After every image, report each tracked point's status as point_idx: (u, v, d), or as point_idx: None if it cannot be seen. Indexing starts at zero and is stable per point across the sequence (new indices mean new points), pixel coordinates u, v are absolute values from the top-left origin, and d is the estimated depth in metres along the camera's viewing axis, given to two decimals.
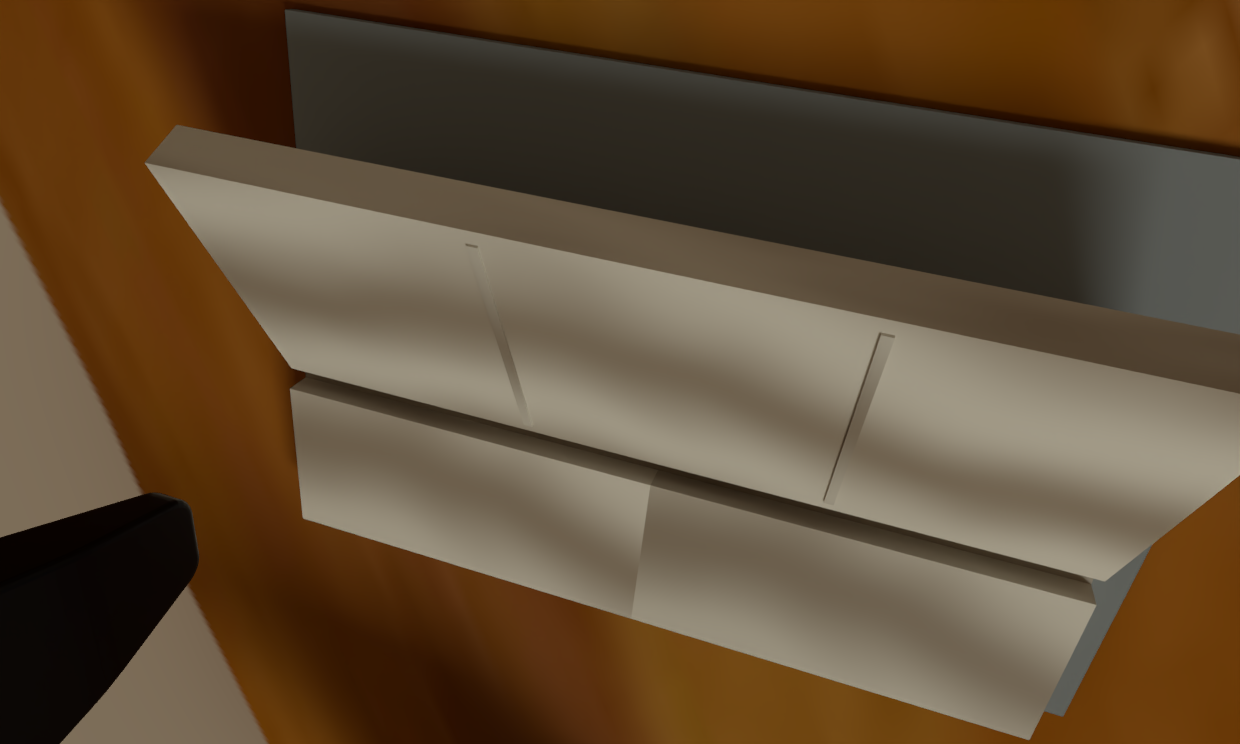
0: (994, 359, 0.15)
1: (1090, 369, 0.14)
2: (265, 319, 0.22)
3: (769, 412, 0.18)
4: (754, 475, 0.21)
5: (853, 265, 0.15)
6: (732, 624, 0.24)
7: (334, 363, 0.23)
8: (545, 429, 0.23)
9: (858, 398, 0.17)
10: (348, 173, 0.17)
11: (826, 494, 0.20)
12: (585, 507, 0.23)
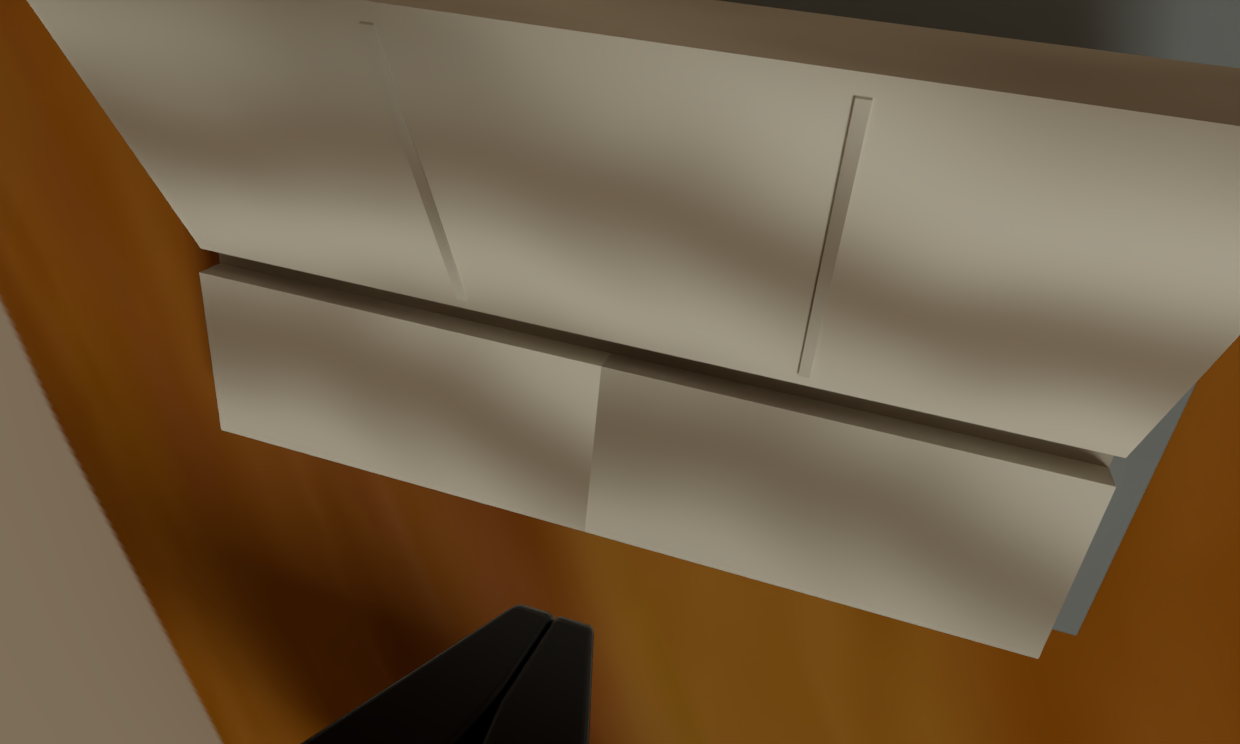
0: (994, 121, 0.12)
1: (1115, 120, 0.11)
2: (161, 178, 0.20)
3: (729, 245, 0.15)
4: (718, 344, 0.18)
5: (821, 21, 0.12)
6: (697, 533, 0.21)
7: (243, 235, 0.21)
8: (481, 303, 0.20)
9: (832, 206, 0.14)
10: None
11: (801, 362, 0.18)
12: (529, 398, 0.21)
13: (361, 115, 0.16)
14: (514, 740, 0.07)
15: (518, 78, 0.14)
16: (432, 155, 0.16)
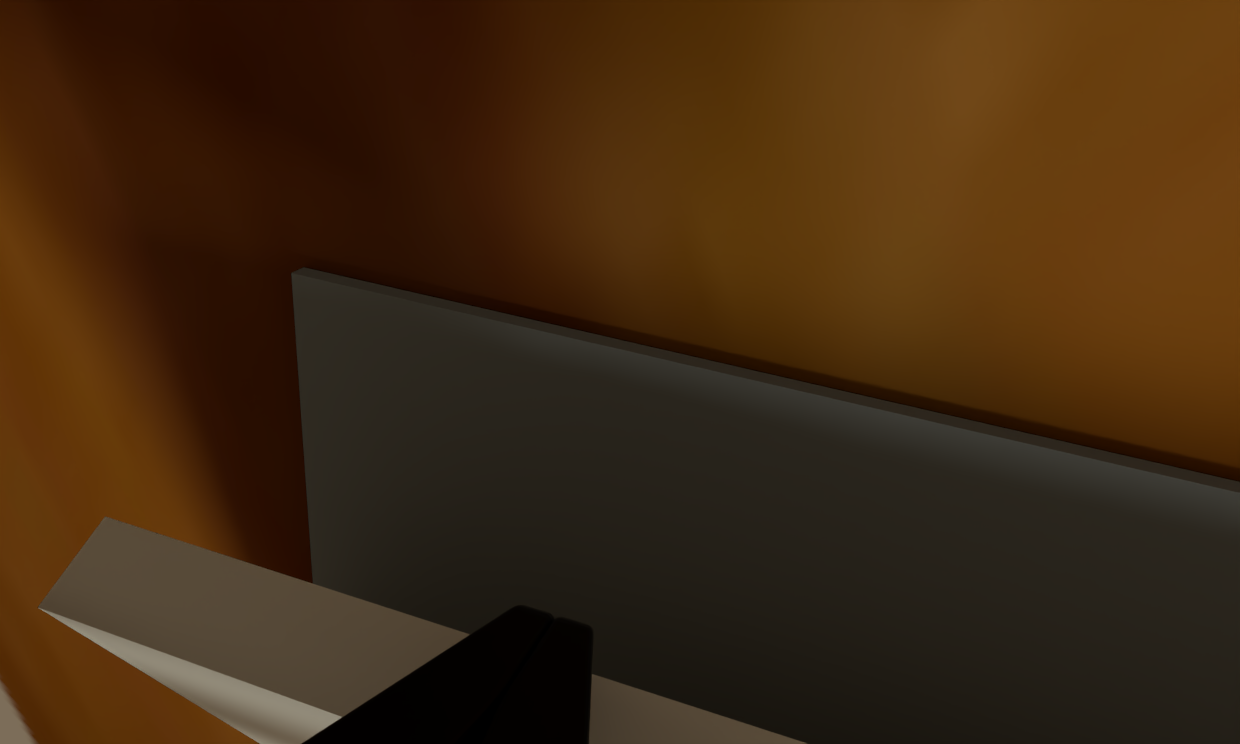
0: None
1: None
2: (252, 735, 0.14)
3: None
4: None
5: None
6: None
7: None
8: None
9: None
10: (417, 655, 0.09)
11: None
12: None
13: None
14: (514, 740, 0.07)
15: None
16: None
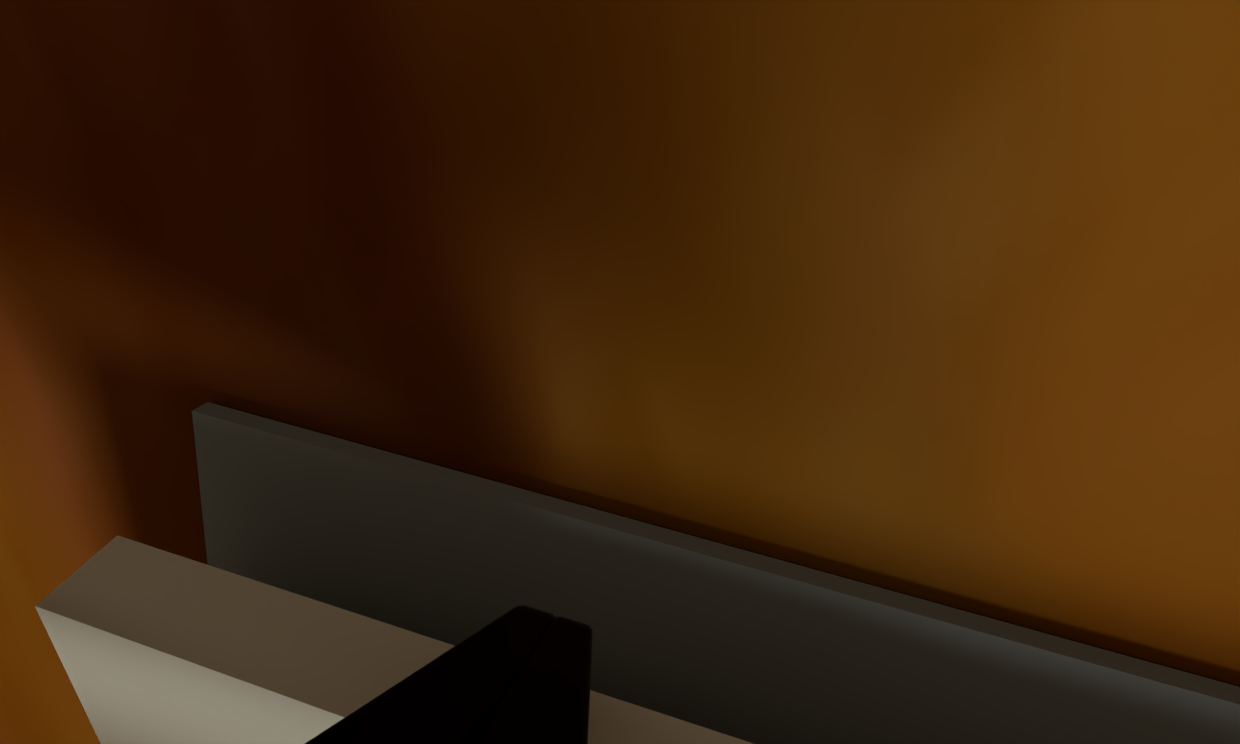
0: None
1: None
2: None
3: None
4: None
5: None
6: None
7: None
8: None
9: None
10: None
11: None
12: None
13: None
14: (513, 740, 0.07)
15: None
16: None
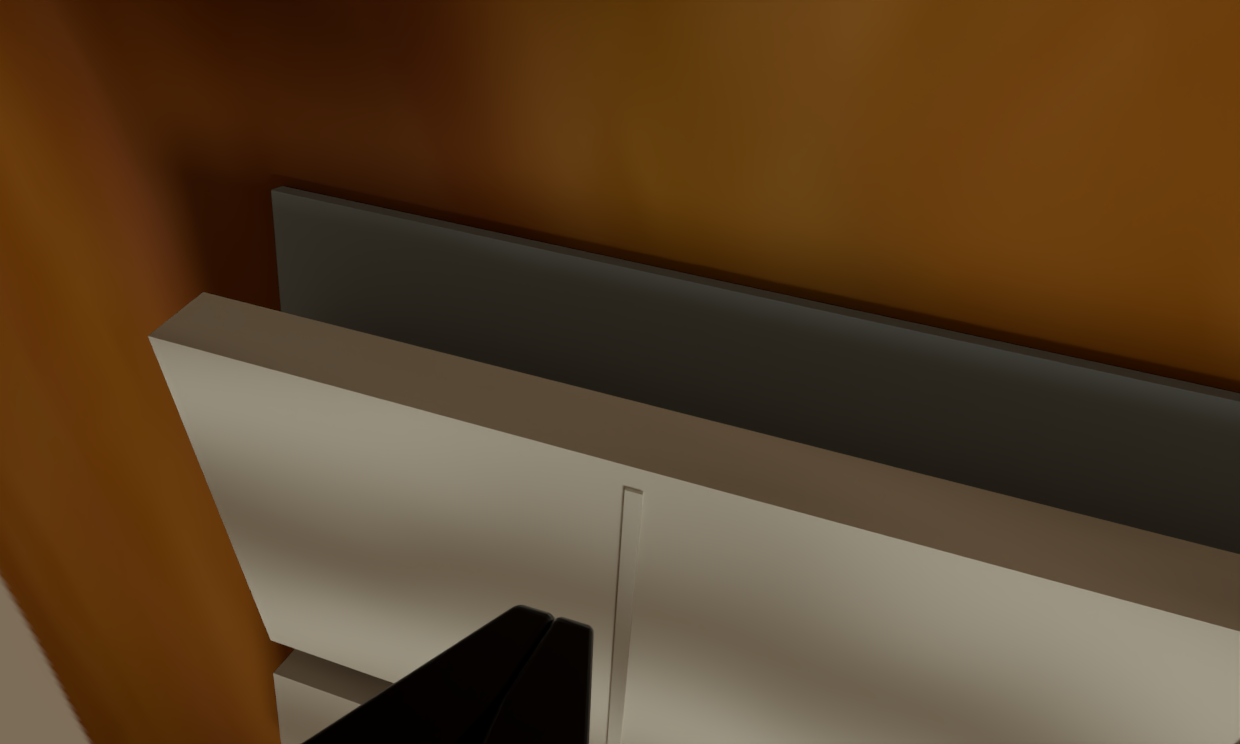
0: None
1: None
2: (256, 571, 0.16)
3: None
4: None
5: (1237, 563, 0.10)
6: None
7: (338, 639, 0.17)
8: None
9: None
10: (449, 373, 0.12)
11: None
12: None
13: (572, 567, 0.13)
14: (514, 740, 0.07)
15: (820, 574, 0.11)
16: (652, 619, 0.13)
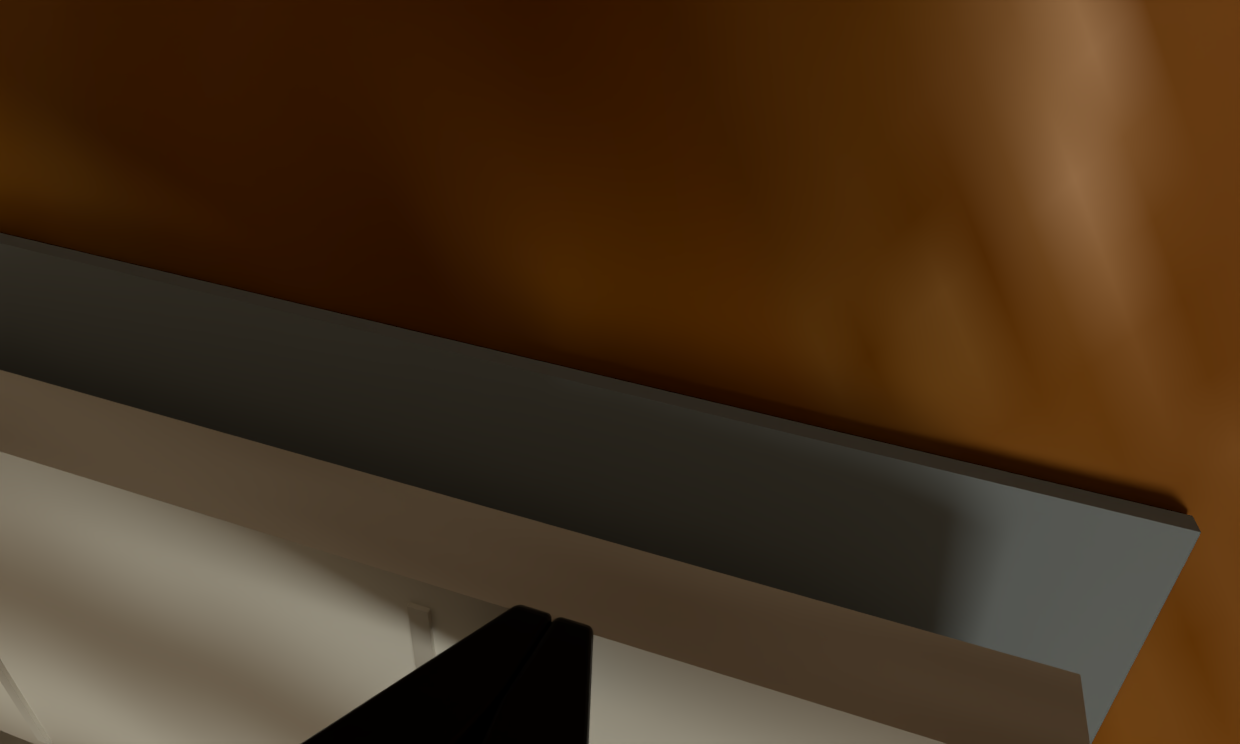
0: None
1: (722, 686, 0.08)
2: None
3: None
4: None
5: (394, 492, 0.10)
6: None
7: None
8: None
9: None
10: None
11: None
12: None
13: None
14: (514, 740, 0.07)
15: (29, 513, 0.11)
16: None
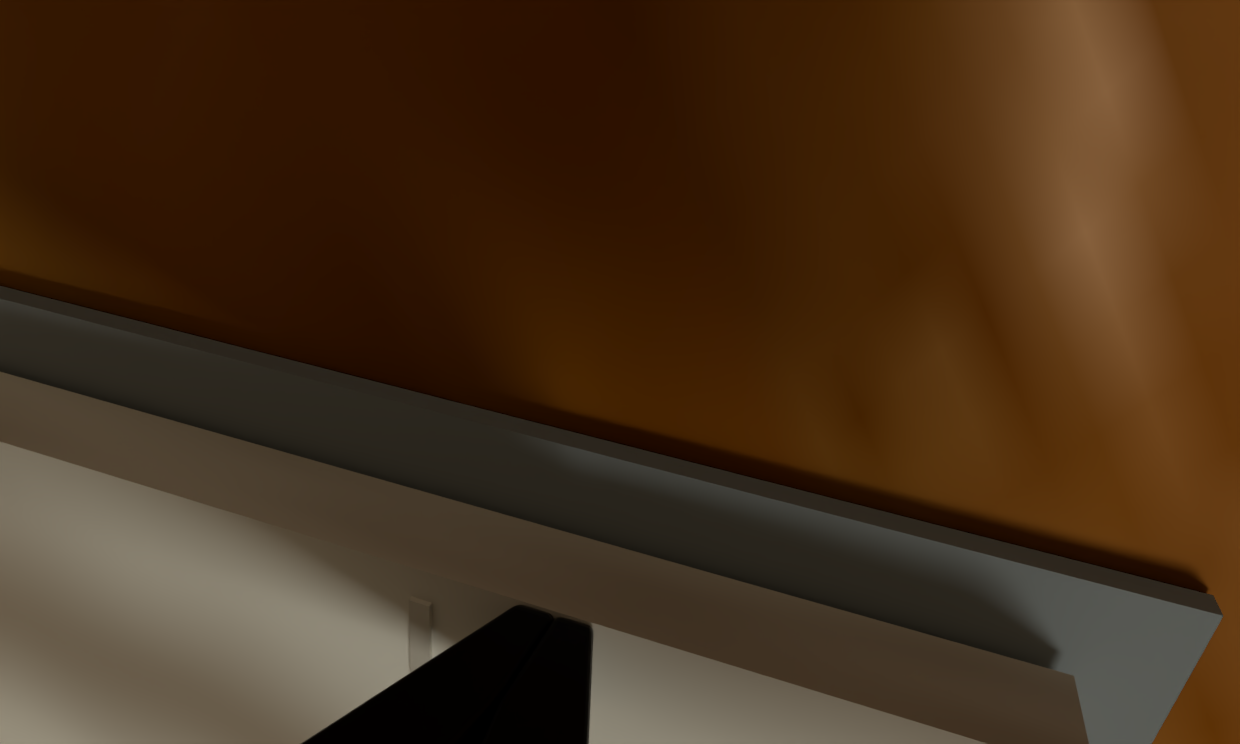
0: None
1: (724, 678, 0.08)
2: None
3: None
4: None
5: (399, 494, 0.10)
6: None
7: None
8: None
9: None
10: None
11: None
12: None
13: None
14: (514, 740, 0.07)
15: (24, 513, 0.10)
16: None
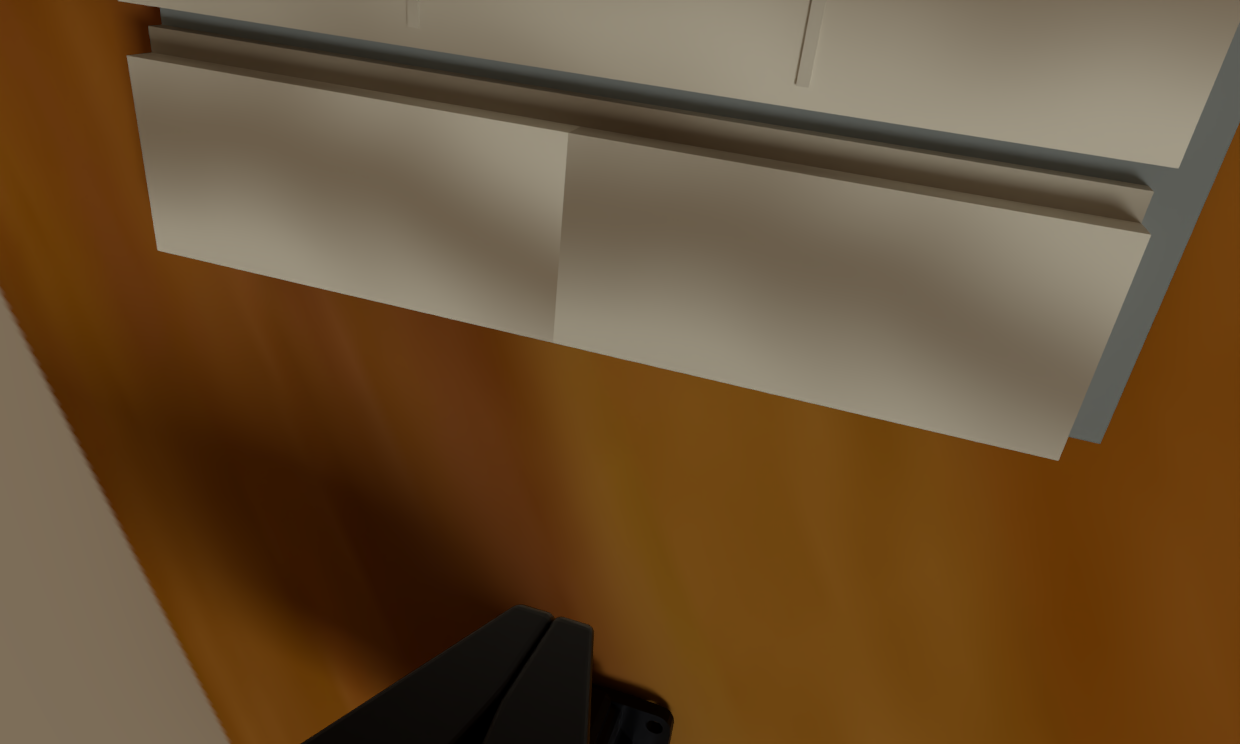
0: None
1: None
2: None
3: None
4: (706, 49, 0.16)
5: None
6: (677, 334, 0.19)
7: None
8: (434, 32, 0.17)
9: None
10: None
11: (801, 56, 0.15)
12: (489, 180, 0.18)
13: None
14: (514, 740, 0.07)
15: None
16: None
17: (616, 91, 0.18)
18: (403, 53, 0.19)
